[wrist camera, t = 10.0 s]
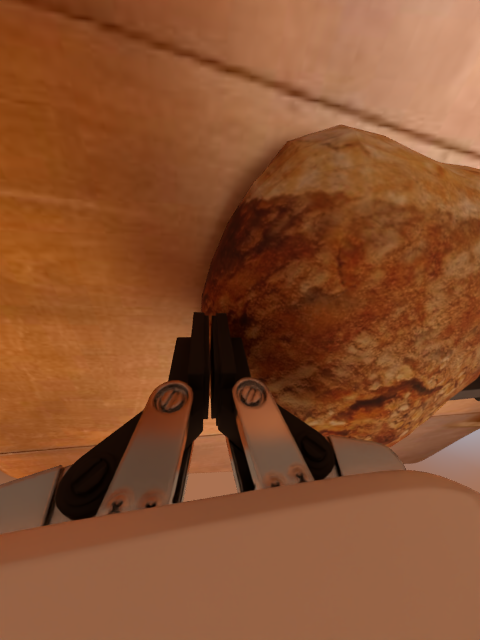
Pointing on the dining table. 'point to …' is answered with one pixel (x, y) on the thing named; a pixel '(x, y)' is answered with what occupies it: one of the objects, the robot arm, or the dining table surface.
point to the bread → (355, 282)
